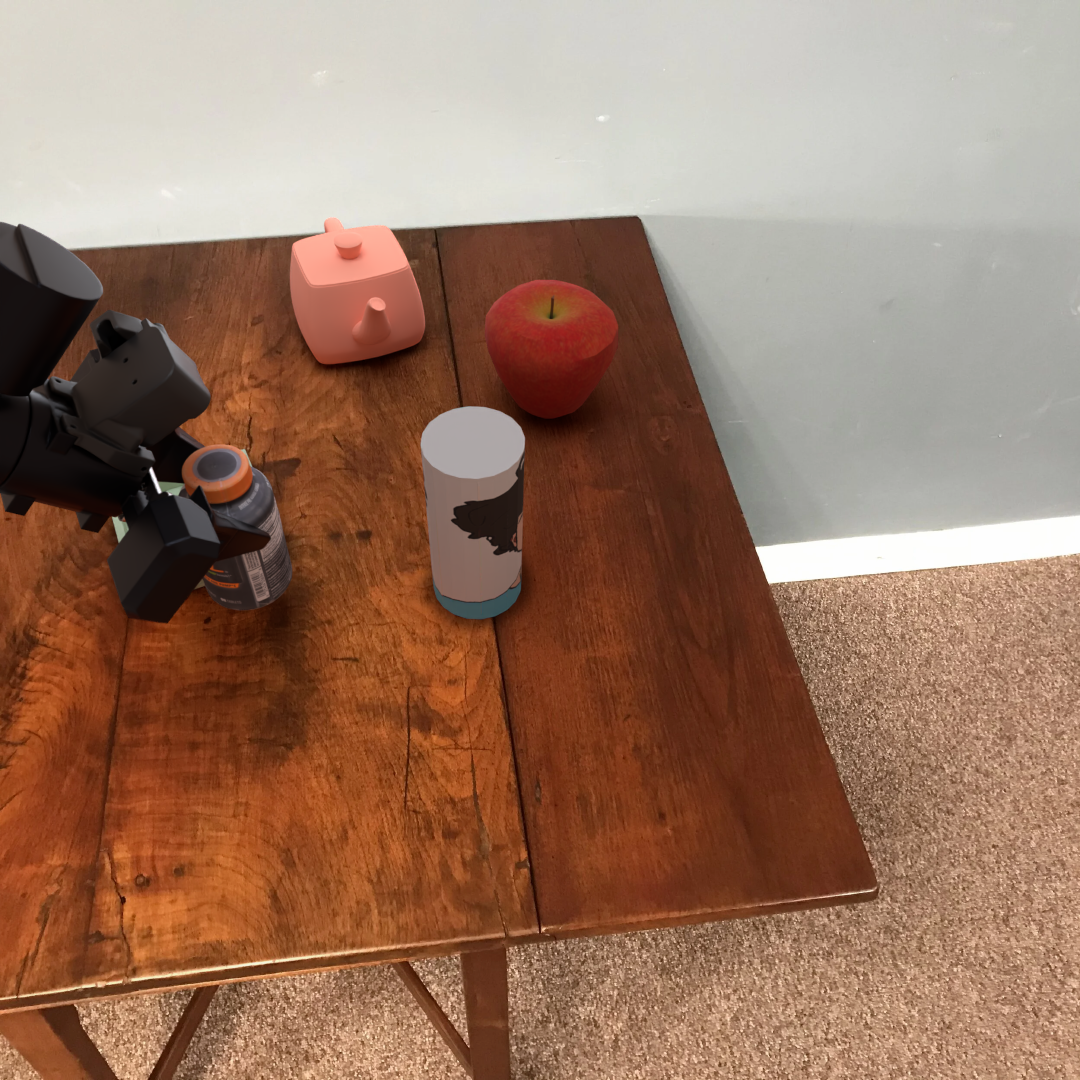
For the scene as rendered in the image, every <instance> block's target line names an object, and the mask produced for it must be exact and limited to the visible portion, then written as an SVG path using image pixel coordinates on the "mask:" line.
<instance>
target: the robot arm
mask: <svg viewBox="0 0 1080 1080" xmlns="http://www.w3.org/2000/svg"><path fill="white" fill-rule="evenodd" d="M103 295H104V287H103V285H102V282H101V281H100V279H99V278H98V276H97V275H96V273H95V272H94V271H93V270H92V269H91V268H90V267H89V266H88V265H87V264H86V263H85V262H84V261H82V259H80V258H79V257H78V256H77V255H76V254H75V253H74V252H72V251H71V250H69V249H68V248H66V247H65V246H63V245H62V244H60V243H58V242H57V241H56V240H54V239H53V238H51V237H49V236H48V235H45V234H44V233H42V232H40V231H38V230H36V229H34V228H32V227H29V226H27V225H25V224H23V223H18V224H17V225H14V224H11V223H8V222H4V221H0V497H1V501H2V506H3V509H4V512H5V513H9V514H13V515H18V516H22V517H26V514H27V513H29V510H30V509H31V508H32V506H33V504H34V503H38V504H42V505H45V506H50V507H54V508H59V509H63V510H66V511H69V512H70V511H71V512H74V513H75V515H76V518H77V521H78V525H79V528H80V530H83V531H88V532H92V533H96V534H99V533H100V531H101V530H102V529H103V527H104V525H105V524H106V523H107V522H108V520H109V518H110V517H111V518H112V517H118V519H119V521H122V522H126V523H127V526H128V529H129V530H128V531H127V533H126V534H125V535H124V537H123V538H122V539H121V541H120V542H118V544H117V545H116V546H115V548H114V549H113V550H112V552H111V553H110V554H109V556H108V557H107V558H106V562H107V565H108V568H109V571H110V574H111V577H112V580H113V583H114V586H115V589H116V593H117V595H118V598H119V601H120V604H121V606H122V608H123V610H124V612H125V614H126V616H127V618H128V619H132V620H139V621H144V622H151V623H157V624H169V622H170V621H171V620H172V618H173V617H174V616H175V615H176V613H177V612H178V611H179V609H180V608H181V607H182V605H184V603H185V602H186V600H187V599H188V598H189V597H190V596H191V594H192V593H193V591H194V590H196V589H195V588H196V586H197V585H198V584H199V582H200V581H201V580H202V579H203V577H204V576H205V575H206V573H207V572H208V571H209V570H210V568H211V567H212V566H213V564H214V563H215V562H217V561H221V560H225V559H228V558H232V557H236V556H239V555H243V554H247V553H251V552H254V551H258V550H262V549H263V548H264V547H265V546H266V545H267V544H268V543H269V541H270V540H271V537H270V535H269V533H267V532H265V531H263V530H261V529H259V528H257V527H255V526H252V525H250V524H247V523H245V522H242V521H240V520H237V519H235V518H232V517H230V516H227V515H224V514H222V513H219V512H217V511H214V510H212V509H211V507H210V504H209V502H208V500H207V497H206V495H205V493H204V491H203V488H202V487H201V486H200V485H198V487H197V488H196V489H195V491H194V492H193V493H192V495H191V496H190V497H189V499H188V498H184V497H180V496H177V495H173V494H172V493H170V492H166V491H163V492H162V491H161V489H160V486H159V484H158V482H168V483H181V484H184V480H183V477H182V467H183V465H184V463H185V461H186V459H187V458H188V457H189V456H190V455H191V454H193V453H194V452H195V451H197V450H199V449H201V448H204V447H206V446H205V445H204V443H201V442H200V441H199V440H197V439H196V438H194V437H193V436H192V435H190V434H189V433H188V432H187V431H185V430H184V429H183V428H181V426H182V425H183V424H185V423H186V422H188V421H189V420H195V419H197V418H198V417H199V416H201V415H203V413H204V412H206V410H207V409H208V407H209V405H210V404H211V399H212V396H211V393H210V390H209V389H208V387H207V386H206V384H205V383H204V381H203V379H202V376H201V374H200V372H199V370H198V365H197V364H196V362H195V361H194V360H193V359H192V358H191V357H190V356H188V355H187V354H186V353H185V351H183V350H182V349H181V348H180V347H179V346H178V345H177V344H176V343H175V342H174V341H172V339H170V336H169V334H168V332H167V330H166V328H165V326H164V325H163V324H161V323H160V322H151V321H150V320H149V319H148V318H147V317H145V318H144V319H142V320H141V319H140V318H138V317H135V316H132V315H128V314H125V313H122V312H119V311H115V310H113V309H107V310H106V311H105V312H103V313H102V314H101V315H99V316H97V318H95V319H94V320H93V321H91V322H90V323H89V328H90V330H91V334H92V337H93V339H94V342H95V346H96V348H94V349H90V350H89V351H88V352H87V354H86V355H85V357H84V359H83V360H82V362H81V363H80V364H79V366H78V368H77V369H76V371H75V372H74V374H73V375H72V377H71V378H70V380H66V379H64V378H60V377H59V376H51V374H52V373H53V372H54V369H55V368H56V367H57V365H58V364H59V362H60V361H61V359H62V358H63V356H64V354H65V353H66V352H67V350H68V348H69V347H70V345H71V343H72V342H73V341H74V339H75V338H76V336H77V335H78V333H79V331H80V330H81V328H82V326H83V325H84V323H85V322H86V320H88V317H89V316H90V314H91V313H92V311H93V310H94V308H95V307H96V305H97V303H98V302H99V300H100V299H101V298H102V296H103Z"/></svg>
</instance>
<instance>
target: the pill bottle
mask: <svg viewBox="0 0 1080 1080" xmlns="http://www.w3.org/2000/svg"><path fill="white" fill-rule="evenodd" d="M241 450H242V449H240V448H238V447H236V446H233V445H231V444H230V445H229V444H222V443H217V444H211V445H206V446H205V447H204V448H201V449H199V450H197V451H195V452H194V453H193V454H191V455H190V456H189V457H188V458H187V459H186V461H185V463H184V465H183V467H182V477H183V480H184V485H183V486H182V488H181V490H180V493H179V495H178V496H180V497H184V498H188V499H189V497H190V496H191V495H192V493H193V492H194V491H195V489H196V488H197V487H198V485H200V486H201V487H202V488H203V491H204V493H205V495H206V497H207V500H208V502H209V504H210V507H211V509H212V510H214V511H217V512H219V513H222V514H224V515H227V516H230V517H232V518H235V519H237V520H240V521H242V522H245V523H247V524H250V525H252V526H255V527H257V528H259V529H261V530H263V531H265V532H267V533H269V535H270V537H271V540H270V541H269V543H268V544H267V545H266V546H265V547H264V548H263V549H262V550H258V551H254V552H251V553H247V554H243V555H239V556H236V557H232V558H228V559H225V560H221V561H217V562H215V563H214V564H213V566H212V567H211V568H210V570H209V571H208V572H207V573H206V575H205V576H204V577H203V581H204V584H205V586H204V587H205V589H206V592H207V593H208V596H210V598H211V599H212V600H213V602H214V603H216V604H218V605H219V606H221V607H223V608H225V609H228V610H234V611H253V610H258V609H261V608H264V607H267V606H269V605H270V604H272V603H274V602H275V601H276V600H278V599H279V598H280V597H281V596H282V595H283V594H284V593H285V592H286V591H287V590H288V587H289V586H290V584H291V581H292V579H293V565H292V561H291V557H290V552H289V549H288V545H287V540H286V538H285V531H284V527H283V524H282V519H281V515H280V511H279V508H278V504H277V501H276V497H275V494H274V490H273V487H272V484H271V482H270V481H269V479H268V478H267V476H266V475H264V473H263V472H262V471H260V470H258V469H257V468H256V467H253V466H252V467H251V466H250V464H249V461H248V458H249V457H248V458H247V456H246V455H245V454H244V453H243V451H241Z"/></svg>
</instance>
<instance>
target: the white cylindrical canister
mask: <svg viewBox="0 0 1080 1080" xmlns="http://www.w3.org/2000/svg"><path fill="white" fill-rule="evenodd" d="M525 449H526V437H525V435H524V432H523V430H522V427H521V426H520V425H519V424H518V422H517V421H516V420H515V419H514V418H513V417H511V416H510V415H508V414H505V412H502V411H501V410H496V409H494V408H489V407H486V406H470V405H469V406H468V405H467V406H462V407H457V408H453V409H449V410H448V411H445V412H443V413H441V414H439V415H438V416H436V417H435V418H434V419H432V420H431V421H429V422H428V424H427V425H426V427H425V428H424V430H423V432H422V434H421V439H420V455H421V465H422V476H423V487H424V488H423V489H424V498H425V509H426V519H427V520H426V521H427V531H428V543H429V554H430V564H431V576H432V586H433V587H432V588H433V590H434V594H435V597H436V600H437V601H438V603H440V605H441V606H442V607H443V608H444V610H446V611H448V612H449V613H451V614H452V615H453V616H457V617H461V618H464V619H467V620H485V619H489V618H495V617H496V616H498V615H501V614H503V613H504V612H507V611H508V609H510V608H511V607H512V606H513V605H514V604H515V603H516V602H517V600H518V598H519V596H520V593H521V592H522V591H521V590H522V571H523V570H522V569H523V567H522V565H523V532H524V531H523V529H524V528H523V527H524V526H523V525H524V489H525V458H526V457H525V453H526V451H525Z"/></svg>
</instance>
